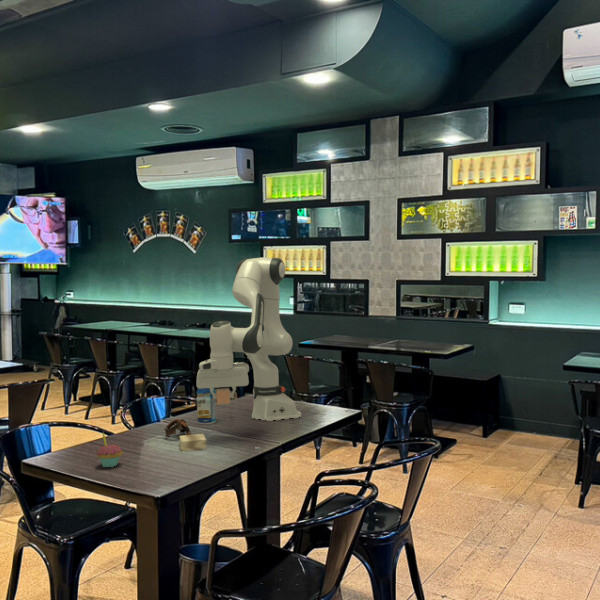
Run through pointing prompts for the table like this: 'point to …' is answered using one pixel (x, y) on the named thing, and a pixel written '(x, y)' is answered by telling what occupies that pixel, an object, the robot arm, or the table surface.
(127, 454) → the table surface
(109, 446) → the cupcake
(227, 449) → the table surface
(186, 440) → the beech block
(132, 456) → the table surface
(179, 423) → the brown rounded piece
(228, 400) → the terracotta cube
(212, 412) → the vitamin bottle
